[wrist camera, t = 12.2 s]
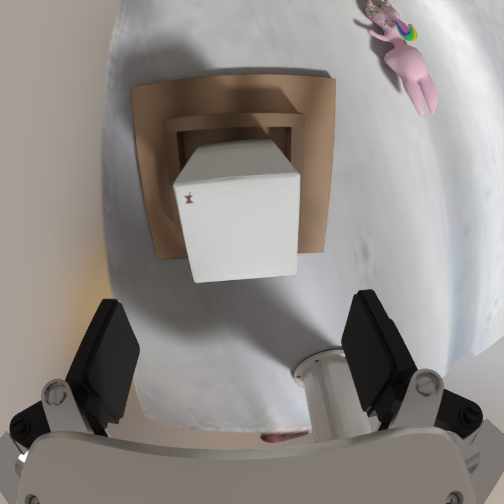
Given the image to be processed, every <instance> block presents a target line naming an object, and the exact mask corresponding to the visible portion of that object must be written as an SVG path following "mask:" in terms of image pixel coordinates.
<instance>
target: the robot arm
mask: <svg viewBox="0 0 504 504" xmlns="http://www.w3.org/2000/svg"><path fill="white" fill-rule="evenodd" d="M341 344H342V348H343V350H329V351H325V352H321V353H318V354H315V355H313V356H311V357H309V358H307V359H306V360H304V361H303V362H302V363H300V364H299V365H298V367H297V368H296V369H295V371H294V380H295V383H296V384H297V385H298V386H300V387H302V388H304V389H305V394H306V399H307V405H308V410H309V416H310V421H311V427H312V432H313V438H314V444H308V445H300V446H292V447H281V448H268V449H248V450H211V449H190V448H177V447H167V446H158V445H150V444H143V443H137V442H131V441H125V440H119V439H114V438H112V437H111V435H110V433H109V431H108V430H107V424H108V422H110V423H115V424H118V423H119V419H120V418H122V417H123V415H124V411H125V406H126V402H127V398H128V394H129V390H130V386H131V382H132V378H133V375H134V371H135V367H136V364H137V360H138V357H139V353H140V347H139V344H138V341H137V339H136V337H135V335H134V332H133V330H132V328H131V325H130V323H129V321H128V318H127V316H126V313H125V311H124V308H123V306H122V304H121V303H119V302H118V300H117V299H103V300H102V301H101V303H100V305H99V307H98V309H97V311H96V313H95V315H94V317H93V319H92V321H91V323H90V325H89V327H88V329H87V332H86V334H85V336H84V338H83V340H82V342H81V344H80V346H79V349H78V351H77V353H76V356H75V358H74V360H73V362H72V365H71V367H70V369H69V372H68V374H67V377H66V379H65V380H62V379H54V380H51V381H50V382H48V383H47V384H46V385H45V386H44V388H43V390H42V394H41V399H42V400H41V401H39V402H37V403H36V404H34V405H32V406H30V407H29V408H27V409H25V410H23V411H22V412H20V413H18V414H17V415H15V416H14V417H13V419H12V420H11V423H10V428H9V429H10V433H8V432H7V431H6V433H5V434H4V435H3V436H2V437H1V438H0V491H1V493H2V494H3V496H4V497H5V499H6V500H7V502H8V503H9V504H484V502H485V501H486V499H487V498H488V496H489V495H490V493H491V491H492V490H493V488H494V487H495V485H496V483H497V482H498V480H499V478H500V477H501V475H502V473H503V471H504V434H503V433H502V432H501V431H500V430H499V429H498V428H497V427H496V426H494V425H493V424H492V423H491V422H490V421H489V420H488V419H486V420H485V421H484V420H483V414H482V411H481V408H480V407H479V406H478V405H477V404H476V403H474V402H473V401H470V400H468V399H466V398H464V397H461V396H459V395H457V394H454V393H452V392H450V391H448V390H446V389H444V383H443V380H442V378H441V377H440V375H439V374H438V373H437V372H435V371H433V370H431V369H420V370H418V369H417V367H416V365H415V363H414V361H413V359H412V357H411V355H410V353H409V351H408V349H407V347H406V345H405V343H404V341H403V339H402V337H401V335H400V333H399V331H398V329H397V327H396V325H395V324H394V322H393V321H392V320H391V319H389V317H388V315H387V313H386V311H385V310H384V308H383V306H382V304H381V302H380V301H379V299H378V297H377V295H376V294H375V292H374V290H372V289H368V290H359V291H358V293H357V294H355V295H354V296H353V300H352V304H351V307H350V311H349V315H348V318H347V322H346V325H345V329H344V332H343V335H342V339H341ZM366 413H367V414H366ZM367 416H368V417H373V416H377V417H378V420H379V421H380V422H379V425H378V426H377V428H376V430H375V432H373V433H372V432H371V428H370V425H369V421H368V418H367Z"/></svg>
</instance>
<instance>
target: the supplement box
mask: <svg viewBox="0 0 504 504" xmlns="http://www.w3.org/2000/svg"><path fill="white" fill-rule="evenodd" d="M173 189H174V193H175V198H176V203H177V208H178V213H179V217H180V222H181V226H182V231H183V235H184V240H185V244H186V249H187V253H188V258H189V262H190V267H191V271H192V275H193V279H194V282H195V283H202V282H214V281H226V280H240V279H252V278H264V277H276V276H286V275H296V274H297V250H298V230H299V207H300V174H299V172H298V171H297V170H296V169H295V168H294V167H293V166H292V164H291V163H290V162H289V161H288V159H287V158H286V157H285V155H284V154H283V153H282V151H281V150H280V149H279V148H278V147H277V145H276V144H275V143H274V142H273V141H272V139H271V138H264V139H246V140H234V141H224V142H215V143H206V144H200V145H199V146H198V148H197V149H196V151H195V152H194V153H193V155H192V156H191V158H190V159H189V161H188V162H187V164H186V165H185V167H184V168H183V170H182V171H181V173H180V174H179V176H178V177H177V179H176V180H175V182H174V184H173Z"/></svg>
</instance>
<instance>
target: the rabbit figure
mask: <svg viewBox="0 0 504 504" xmlns="http://www.w3.org/2000/svg"><path fill="white" fill-rule="evenodd" d="M365 13H366V15H367V17H368V18H369V19H370V20H371V21H373V22H374V23H376V24H377V25H378V26H380V27H381V28H382V29H383V31H384V35H379V34H377V33H375V32H374V31H373V30H370V29H369V30H368V31H367V32H368V33H369V34H371V35H372V36H374V37H376V38H378V39H380V40H383V41H386V42H390V43H392V44H393V45H394V49H393V50H391V51H388V52H387V53H386V54H385V57H384V60H385V62H386V64H388V65H389V66H390V67H391V69H392V70H393V71H395V72H396V73H397V74H398V75H399V76H400V78H401V79H402V83H403V86H404V88H405V90H406V92H407V94H408V95H409V97H410V99H411V101H412V102H413V104H414V106H415V108H416V109H417V111H418V113H419V115H420V116H421V117H423V116H424V102H423V97H422V94H421V90H422V93H423V95H424V98H425V100H426V103H427V106H428V108H429V111H430V114H433V113H434V111H435V108H436V105H437V100H438V95H437V90H436V86H435V84H434V81H433V80H432V78H431V77H430V76H429V75H428V73H427V67H426V63H425V61H424V59H423V56H422V54H421V52H420V51H418V50H417V49H416V48H414V47H412V46H409V45H405V44H404V43H403V41H404V40H405V39H406V40H408V41H414V40H416V39H417V33H416V31H415V29H414V28H413V25H412V24H409V25H408V26H407V25H406V24H405V23H403V22H402V21H400V17H399V14H398V12H397V11H396V10H395V9H394V8H393V7H392V5H391V4H390V2H389V0H384V2H383V3H382V4H381V5H380V6H379V8H378V7H377V6H376V5H374V4H373V3H372V2H371V0H367V5H366V8H365ZM417 81H418V83H419V85H420V87H419V85H418V83H417ZM420 88H421V90H420Z"/></svg>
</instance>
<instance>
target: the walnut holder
mask: <svg viewBox="0 0 504 504" xmlns="http://www.w3.org/2000/svg"><path fill="white" fill-rule="evenodd" d="M131 93H132V106H133V117H134V127H135V136H136V144H137V152H138V159H139V166H140V173H141V179H142V185H143V191H144V197H145V203H146V208H147V213H148V219H149V224H150V228H151V233H152V238H153V243H154V247H155V251H156V256H157V259H177V258H188V253H187V249H186V244H185V240H184V235H183V231H182V226H181V222H180V217H179V213H178V208H177V203H176V198H175V193H174V189H173V184H174V182H175V180H176V179H177V177H178V176H179V174H180V173H181V171H182V170H183V168H184V167H185V165H186V164H187V162H188V161H189V159H190V158H191V156H192V155H193V153H194V152H195V151H196V149H197V148H198V146H199V145H200V144H206V143H215V142H224V141H234V140H246V139H264V138H271V139H272V141H273V142H274V143H275V144H276V145H277V147H278V148H279V149H280V150H281V151H282V153H283V154H284V155H285V157H286V158H287V159H288V161H289V162H290V163H291V164H292V166H293V167H294V168H295V169H296V170H297V171H298V172H299V174H300V207H299V230H298V250H297V253H319V252H323V250H324V242H325V234H326V226H327V217H328V208H329V198H330V187H331V175H332V162H333V147H334V128H335V100H336V79H333V78H324V77H313V76H299V75H275V74H248V75H223V76H209V77H198V78H189V79H181V80H173V81H166V82H160V83H154V84H149V85H143V86H138V87H133V88H131Z"/></svg>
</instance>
